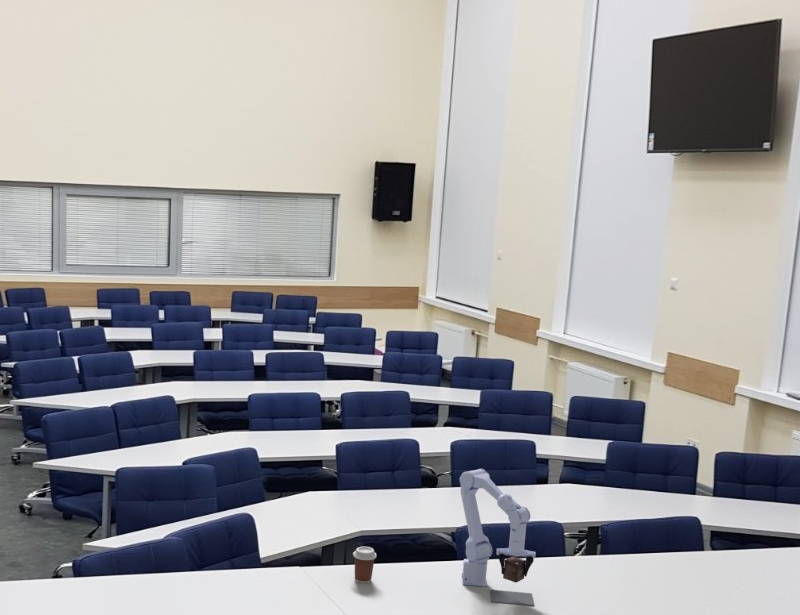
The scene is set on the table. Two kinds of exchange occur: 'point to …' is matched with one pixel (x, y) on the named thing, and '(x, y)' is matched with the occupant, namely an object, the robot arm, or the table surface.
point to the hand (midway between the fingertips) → (513, 574)
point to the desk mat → (511, 597)
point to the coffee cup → (364, 564)
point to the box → (514, 569)
